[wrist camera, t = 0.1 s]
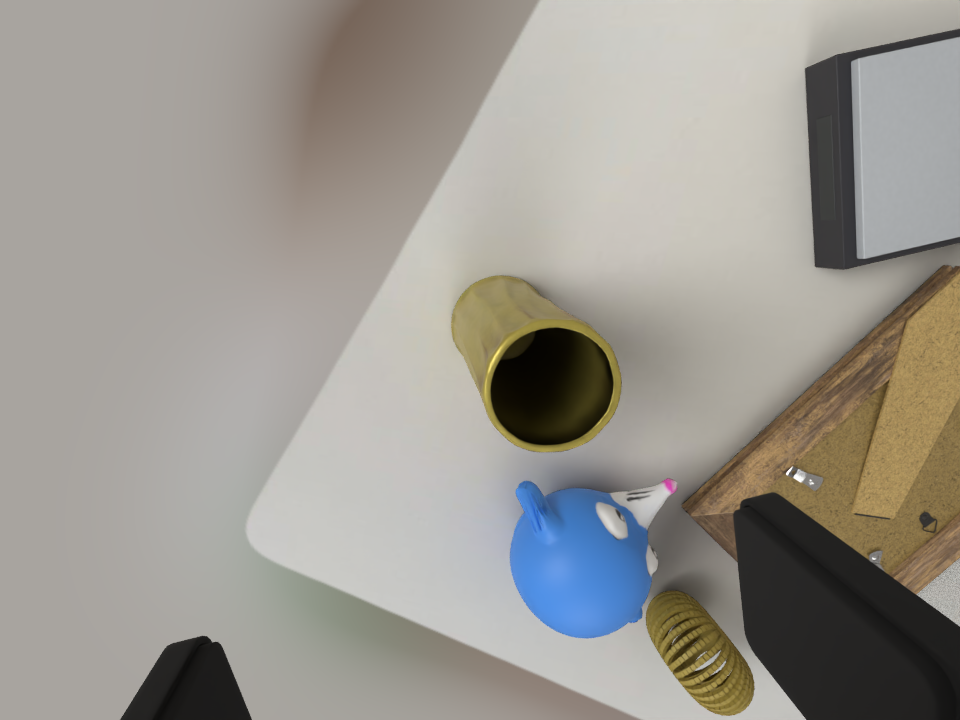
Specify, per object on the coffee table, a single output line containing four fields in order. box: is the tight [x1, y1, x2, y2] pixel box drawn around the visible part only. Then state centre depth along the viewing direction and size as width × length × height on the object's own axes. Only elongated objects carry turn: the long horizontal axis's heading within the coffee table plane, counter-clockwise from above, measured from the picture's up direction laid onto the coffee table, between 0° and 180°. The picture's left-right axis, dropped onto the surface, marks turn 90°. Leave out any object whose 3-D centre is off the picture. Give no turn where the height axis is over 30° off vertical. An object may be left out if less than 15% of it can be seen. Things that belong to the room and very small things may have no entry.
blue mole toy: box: [510, 478, 677, 638], centre depth 33 cm, size 12×12×8 cm
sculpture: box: [646, 590, 754, 716], centre depth 36 cm, size 8×4×8 cm, turn 40°
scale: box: [805, 29, 960, 269], centre depth 32 cm, size 12×12×3 cm
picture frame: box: [682, 265, 960, 594], centre depth 38 cm, size 19×2×24 cm
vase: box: [451, 276, 622, 452], centre depth 26 cm, size 6×6×14 cm
